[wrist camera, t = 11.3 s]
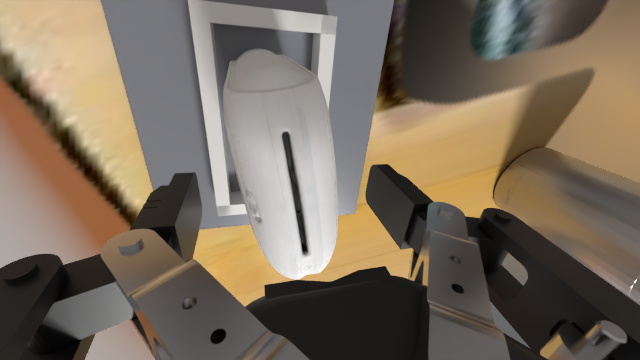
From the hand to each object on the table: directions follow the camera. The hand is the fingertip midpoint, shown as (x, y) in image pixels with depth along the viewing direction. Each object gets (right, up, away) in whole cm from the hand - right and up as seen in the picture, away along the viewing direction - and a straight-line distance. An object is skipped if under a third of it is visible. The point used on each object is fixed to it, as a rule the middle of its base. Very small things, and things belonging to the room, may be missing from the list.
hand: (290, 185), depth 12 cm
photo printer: (-3, +5, +8) cm, 10 cm away
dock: (-3, +5, +9) cm, 11 cm away
